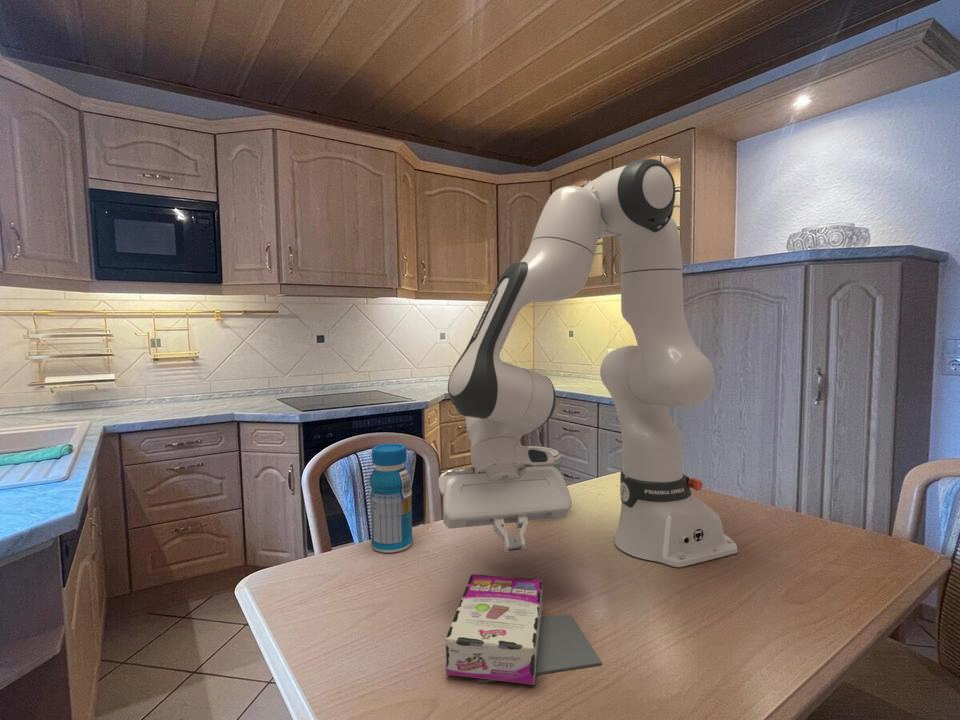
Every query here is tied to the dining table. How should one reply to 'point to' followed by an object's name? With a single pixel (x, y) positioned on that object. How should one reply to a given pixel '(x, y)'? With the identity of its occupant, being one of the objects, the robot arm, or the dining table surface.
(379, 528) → the beverage bottle
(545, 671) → the mat
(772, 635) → the dining table surface
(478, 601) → the candy bar box
